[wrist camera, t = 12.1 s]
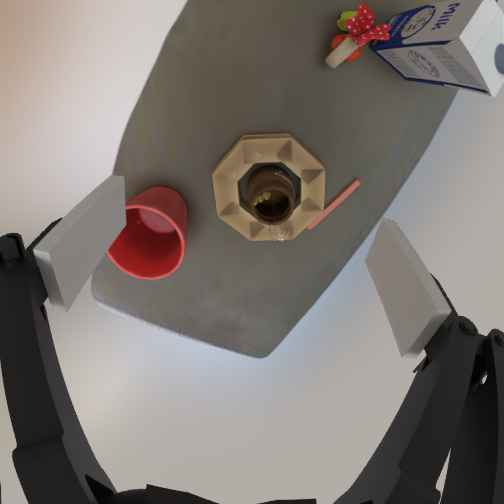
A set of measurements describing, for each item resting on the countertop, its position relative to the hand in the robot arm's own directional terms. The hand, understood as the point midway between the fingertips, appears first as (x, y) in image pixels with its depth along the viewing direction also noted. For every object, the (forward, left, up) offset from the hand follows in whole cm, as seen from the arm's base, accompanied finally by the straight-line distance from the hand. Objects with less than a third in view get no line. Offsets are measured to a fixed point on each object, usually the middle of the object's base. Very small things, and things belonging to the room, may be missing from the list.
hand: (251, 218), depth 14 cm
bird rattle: (-17, 0, -26) cm, 31 cm away
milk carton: (-22, +5, -26) cm, 34 cm away
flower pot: (+18, -3, -26) cm, 31 cm away
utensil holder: (+5, +6, -26) cm, 27 cm away
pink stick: (+1, +15, -25) cm, 29 cm away
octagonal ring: (+5, +6, -25) cm, 27 cm away
